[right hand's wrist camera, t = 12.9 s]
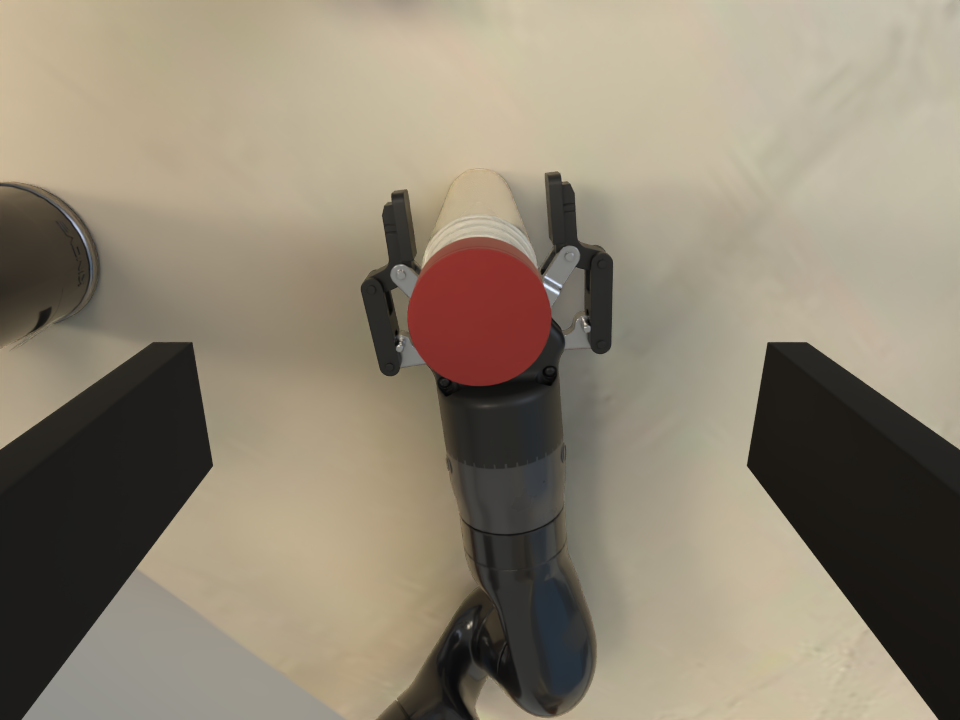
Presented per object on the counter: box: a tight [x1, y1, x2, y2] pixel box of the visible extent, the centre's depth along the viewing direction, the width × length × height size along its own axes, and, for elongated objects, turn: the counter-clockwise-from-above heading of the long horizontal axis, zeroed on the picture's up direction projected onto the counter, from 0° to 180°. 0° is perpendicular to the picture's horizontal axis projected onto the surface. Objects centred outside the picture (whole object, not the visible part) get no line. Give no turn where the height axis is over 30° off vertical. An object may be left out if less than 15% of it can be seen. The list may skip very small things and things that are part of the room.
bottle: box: [422, 169, 538, 270], centre depth 30 cm, size 4×4×25 cm
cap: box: [408, 237, 551, 386], centre depth 19 cm, size 4×4×2 cm
